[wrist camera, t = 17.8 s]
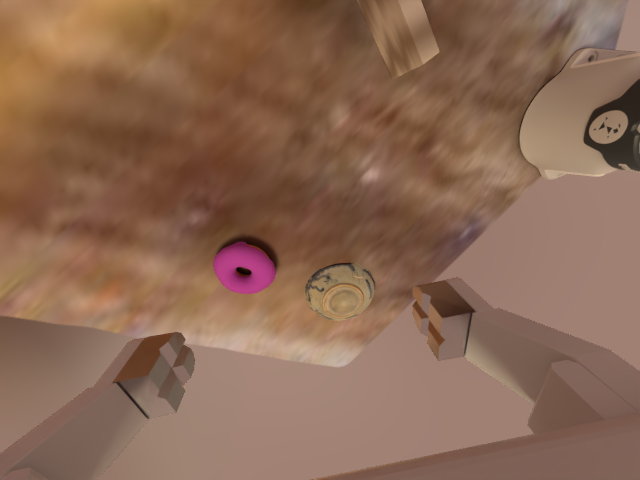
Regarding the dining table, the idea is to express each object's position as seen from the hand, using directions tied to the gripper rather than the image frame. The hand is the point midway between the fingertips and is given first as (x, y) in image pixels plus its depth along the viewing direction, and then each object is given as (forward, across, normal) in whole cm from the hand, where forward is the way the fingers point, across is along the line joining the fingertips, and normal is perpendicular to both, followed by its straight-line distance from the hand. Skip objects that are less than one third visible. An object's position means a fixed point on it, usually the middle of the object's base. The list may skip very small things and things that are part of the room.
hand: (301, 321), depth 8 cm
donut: (+34, +12, +15) cm, 39 cm away
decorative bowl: (+34, -4, +26) cm, 43 cm away
